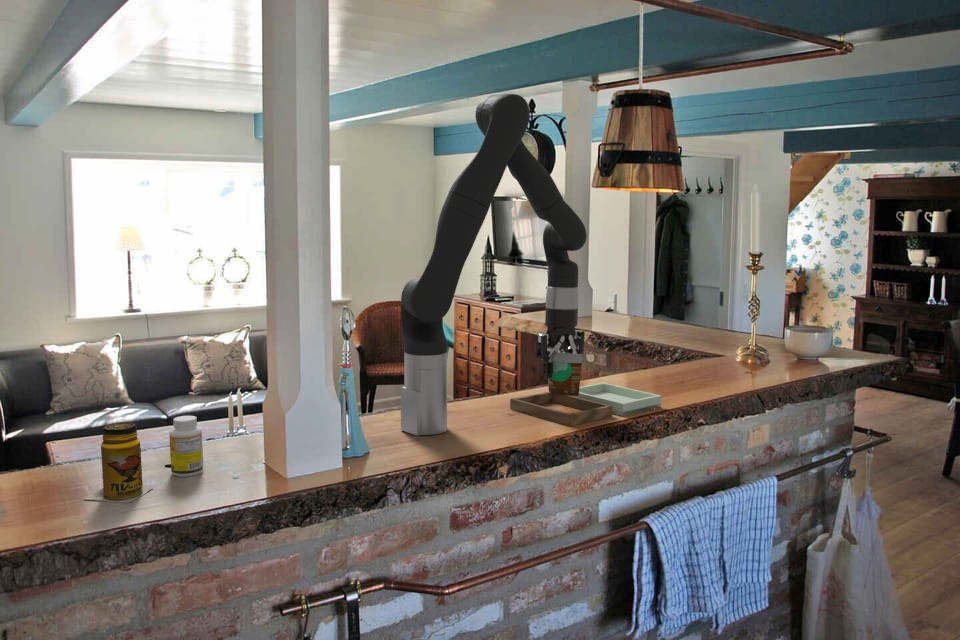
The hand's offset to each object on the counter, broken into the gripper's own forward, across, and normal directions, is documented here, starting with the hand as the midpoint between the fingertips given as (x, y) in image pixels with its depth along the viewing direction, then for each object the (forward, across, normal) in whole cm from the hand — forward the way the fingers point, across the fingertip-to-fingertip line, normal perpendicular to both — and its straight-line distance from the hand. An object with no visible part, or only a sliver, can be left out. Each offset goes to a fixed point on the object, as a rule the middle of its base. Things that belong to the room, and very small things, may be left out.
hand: (559, 375), depth 195 cm
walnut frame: (+9, 0, 0) cm, 9 cm away
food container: (+4, 0, 0) cm, 4 cm away
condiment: (+11, -97, +6) cm, 98 cm away
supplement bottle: (+11, -84, +10) cm, 86 cm away
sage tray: (+9, +16, -2) cm, 19 cm away
